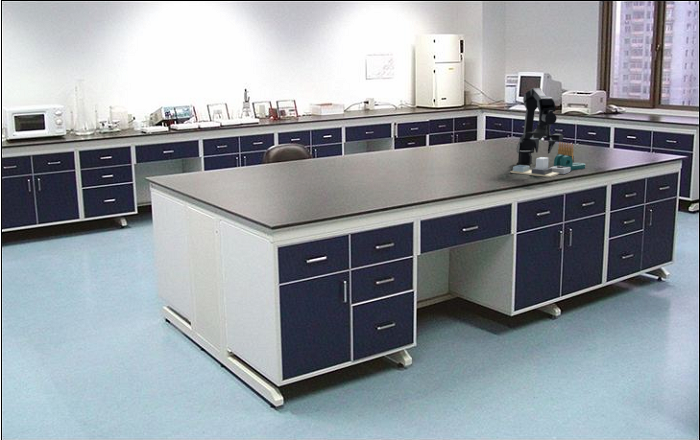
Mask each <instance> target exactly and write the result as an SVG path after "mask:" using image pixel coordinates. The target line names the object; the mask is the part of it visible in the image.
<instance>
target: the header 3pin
mask: <svg viewBox="0 0 700 440" xmlns="http://www.w3.org/2000/svg"><path fill="white" fill-rule="evenodd" d="M528 170H531V167H530V165H526V164H517V165H514V166H513V167H512V171H519V172H525V171H528Z"/></svg>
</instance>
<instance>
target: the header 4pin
mask: <svg viewBox="0 0 700 440" xmlns="http://www.w3.org/2000/svg"><path fill="white" fill-rule="evenodd" d="M531 170H532V173H533V174H542V175H545V174H548V173H551V172H552V168H551V167H548V169H546V170H538V169H536V167H533V168H532V169H531Z"/></svg>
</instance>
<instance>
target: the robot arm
mask: <svg viewBox="0 0 700 440" xmlns="http://www.w3.org/2000/svg"><path fill="white" fill-rule="evenodd" d="M522 102H523V106H524V107H525V115H524V116H525V118H524V126H523V134H522V135H521V137H520V138H519V142H518V143H517V145H516V153H517V154H518V160H517V162H516V164H517V165H525V166H529V165H531V164H533V162H532V161H533V155H532V154H534V153H535V152H536V153H539V147H540V146H539V143H540V139H549V140H547V143H548V146H547V154H548V155H549V154H550V153H551V151H552V149H553V147H554V145H555V144H556V142H558V141H559V142H561V141H563V140H564V135H563V133H554V134H552V133H551V127H552V125H554V124H555V123H556V121H557V118H558V117H557V115H556V114H555V113H554V112H556V109H557V107H556V103H555V100H554V99H553V97H551V96H548V95H546V94H545V93H544V91H542V88H540V87H532V88H530V90H529V91H527V92H525V93H524V95H523V98H522ZM537 109H538V113H539V114H538V124H537V126H536V128H535V129H534V120H535V112H536V111H537ZM533 129H534V130H533Z"/></svg>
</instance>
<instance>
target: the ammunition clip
mask: <svg viewBox="0 0 700 440" xmlns="http://www.w3.org/2000/svg"><path fill="white" fill-rule="evenodd" d="M559 154H560V155H564V156H570V157H572V159H573V163H575V161H574V159H575V158H574V157H575V156H574V143H568V142H563V141H562V142H561V141H559V142H558V149H557V154H556V156H557V155H559ZM566 163H567V162H566Z"/></svg>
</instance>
